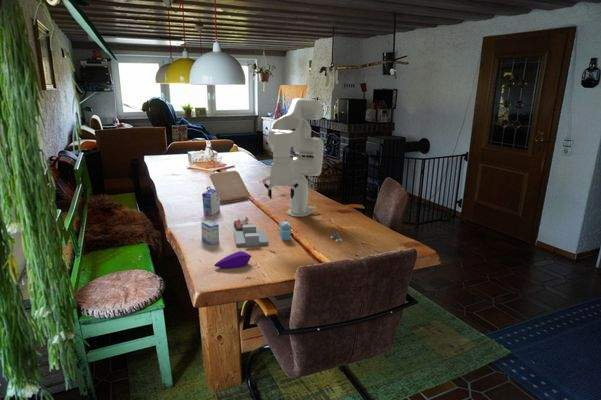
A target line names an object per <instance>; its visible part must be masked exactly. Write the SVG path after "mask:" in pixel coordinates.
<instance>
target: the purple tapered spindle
mask: <svg viewBox="0 0 601 400" xmlns="http://www.w3.org/2000/svg"><path fill="white" fill-rule="evenodd" d="M251 258H252V255H251V254H250V253H247V252H245V251H242V250H241V251H237V252H234V253H231V254H229V255H226V256H225V257H224V258H222V259H219V261H217V262H216V263H215V264H214V266H215V267H216V268H222V269H235V268H241V267H245V266H247V265H248V263H249V262H250V260H251Z"/></svg>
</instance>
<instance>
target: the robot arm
mask: <svg viewBox="0 0 601 400" xmlns="http://www.w3.org/2000/svg"><path fill="white" fill-rule="evenodd" d="M323 116H324V107H323V104H322V103H321V102H320V101H319V100H318V99H315V98H309V97H307V98H305V97H303V98H302V97H298V98H294V99H292V100H291V102H290V104H289V106H288V109H287V111H286V114H285V115H282V116H281V117H279V118H278V119H276V120H275V121H274V122H273V123H272V124H271V126H270V128H269V131H268V132H267V133H268V134H267V142H268V144H269V145H270V146H272V147H273V151H272V154H273V155H272V157H273V159H272V160H273V161H272V162H271V164H270V167H269V169H270V170H269V176H266V177H264V178H262V180H261V182H262V183H263V186H264V187H265V188H266V189H267V197H269V199H272V197H273V196H272V195H273V194H272V192H273V191H272V188H273V187H290V191H289V192H290V193H289V194H290V195H289V196H290V197H289V198H290V199H289V200H290V201H289V209H287V212H286V213H287V215H289V216H290V217H297V218H300V217H301V218H302V217H308V216H309V215H310V214H311V211H316V209H317V207H316V206H312V205H308V198H309V197H308V196H309V195H308V194H309V182H308V180H307V178H306V176H313V177H317V176H320V175H321V173H322V169H323V159H324V140H323V139H322V138H320V137H312V127H311V125H310V123H309V122H308V120H315V121H316V120H321V119H322V118H323ZM294 129H295V130H294ZM291 148H293V151H294V153H295V154H296V155H304V156H294V157H291ZM305 156H306V157H305ZM307 156H312V157H307ZM267 181H269V184H267Z"/></svg>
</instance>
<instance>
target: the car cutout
mask: <svg viewBox="0 0 601 400" xmlns="http://www.w3.org/2000/svg"><path fill="white" fill-rule="evenodd" d="M330 239H334V240H335V242H336V243H337V242H342V238H340V235H339V232H338V231H336V230H335V231H333V232H332V235H330Z"/></svg>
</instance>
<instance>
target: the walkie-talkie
mask: <svg viewBox="0 0 601 400" xmlns="http://www.w3.org/2000/svg"><path fill="white" fill-rule="evenodd" d="M250 224H253V223H252V220H249V218H248V217H247V216H245V219H244V218H238V219H236V220H234V221H233V226H234V230H235V231H243V225H250Z"/></svg>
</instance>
